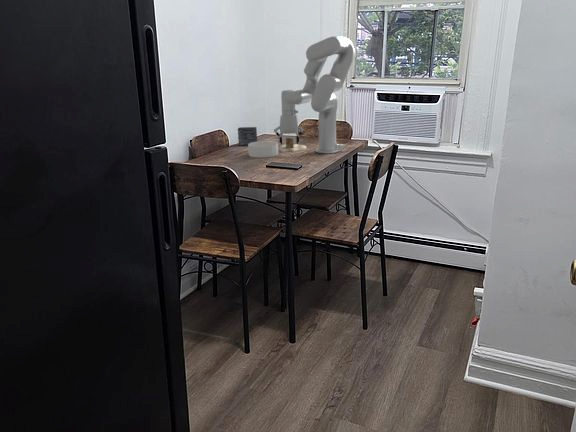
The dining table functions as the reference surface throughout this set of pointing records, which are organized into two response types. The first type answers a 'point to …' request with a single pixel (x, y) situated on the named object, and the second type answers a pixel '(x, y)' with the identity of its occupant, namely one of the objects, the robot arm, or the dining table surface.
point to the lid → (290, 146)
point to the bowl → (263, 149)
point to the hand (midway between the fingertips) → (289, 143)
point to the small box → (247, 135)
